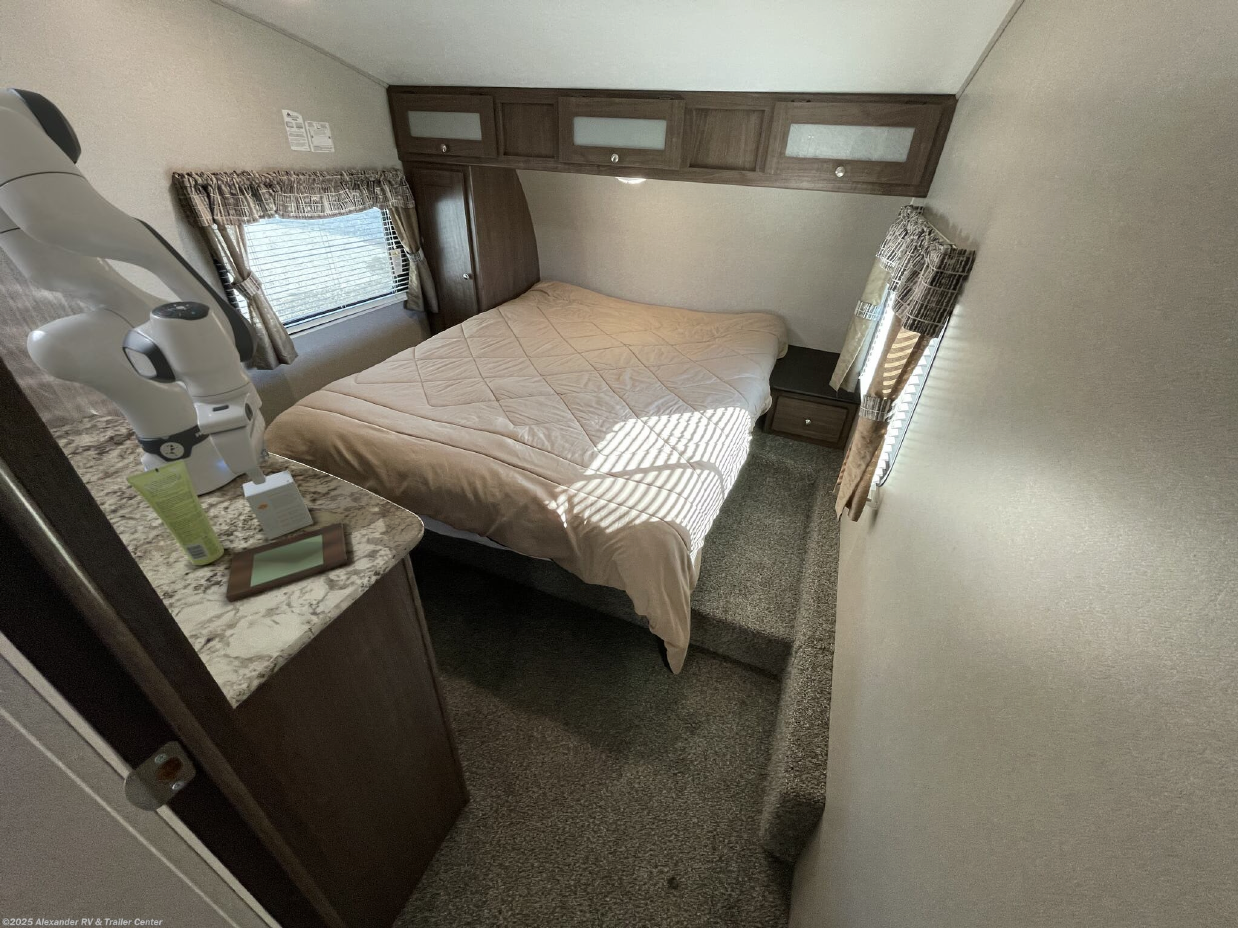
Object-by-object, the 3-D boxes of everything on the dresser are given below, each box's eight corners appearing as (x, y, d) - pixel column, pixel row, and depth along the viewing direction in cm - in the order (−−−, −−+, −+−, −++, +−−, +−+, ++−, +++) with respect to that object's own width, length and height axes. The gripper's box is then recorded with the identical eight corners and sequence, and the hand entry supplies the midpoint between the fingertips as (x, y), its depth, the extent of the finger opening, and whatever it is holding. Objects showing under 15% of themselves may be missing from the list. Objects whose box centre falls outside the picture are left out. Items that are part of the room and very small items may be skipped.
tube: (206, 546, 93) (152, 459, 82) (233, 545, 93) (182, 458, 83) (185, 567, 88) (124, 477, 78) (213, 566, 88) (156, 476, 78)
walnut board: (235, 558, 90) (232, 553, 89) (343, 526, 97) (341, 521, 96) (228, 602, 81) (225, 596, 80) (347, 563, 88) (345, 558, 87)
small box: (308, 510, 102) (289, 468, 96) (314, 524, 98) (294, 480, 92) (264, 526, 98) (241, 483, 92) (268, 541, 94) (244, 497, 88)
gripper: (214, 385, 90) (247, 450, 97) (195, 430, 74) (237, 503, 82) (254, 378, 92) (284, 441, 99) (244, 419, 77) (280, 491, 84)
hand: (262, 469), depth 90 cm, fingers open, 8 cm apart
